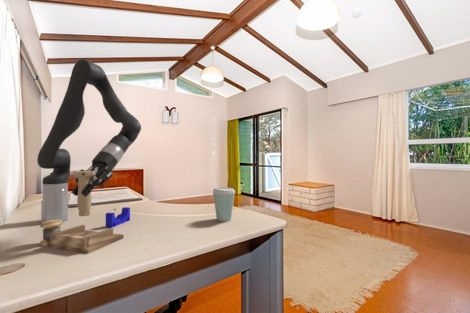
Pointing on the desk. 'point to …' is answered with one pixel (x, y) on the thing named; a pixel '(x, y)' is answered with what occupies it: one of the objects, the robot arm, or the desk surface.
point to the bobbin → (49, 230)
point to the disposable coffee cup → (223, 202)
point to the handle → (82, 201)
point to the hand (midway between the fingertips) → (79, 194)
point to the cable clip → (117, 218)
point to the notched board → (90, 249)
